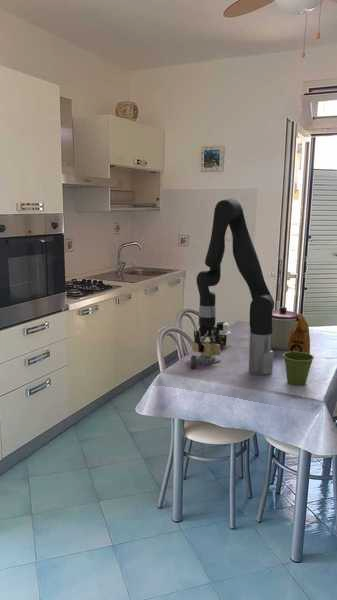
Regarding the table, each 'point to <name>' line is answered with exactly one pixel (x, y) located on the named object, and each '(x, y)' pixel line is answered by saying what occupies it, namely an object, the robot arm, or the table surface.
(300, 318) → the coffee package
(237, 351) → the table surface
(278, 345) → the canister
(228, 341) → the medicine bottle
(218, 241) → the robot arm
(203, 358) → the hub
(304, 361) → the plant pot
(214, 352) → the yellow oblong bowl
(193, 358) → the stand rod
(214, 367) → the table surface
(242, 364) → the table surface
